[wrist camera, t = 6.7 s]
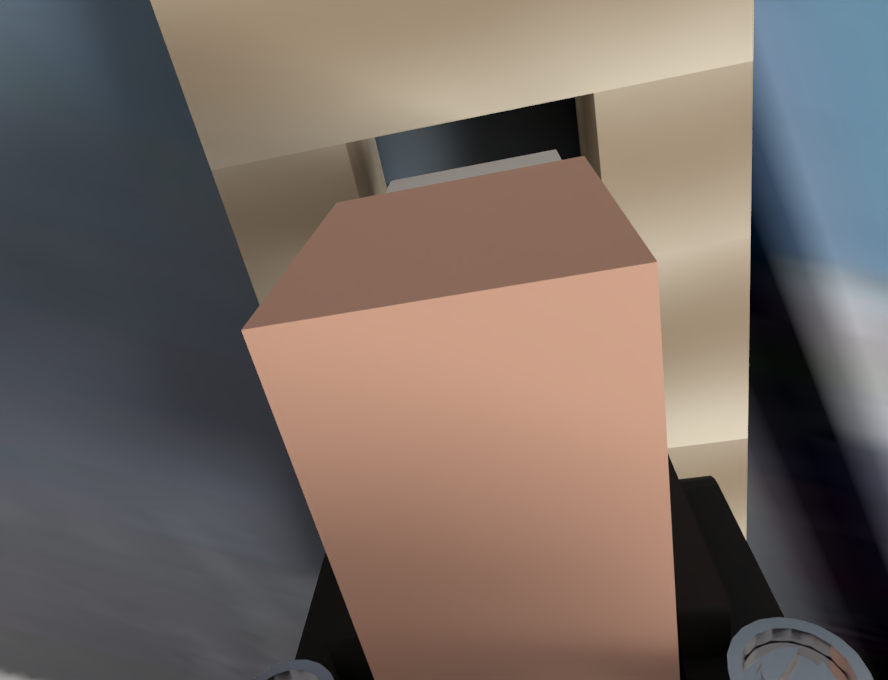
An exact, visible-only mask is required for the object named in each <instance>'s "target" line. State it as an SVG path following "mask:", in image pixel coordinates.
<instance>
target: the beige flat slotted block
mask: <svg viewBox="0 0 888 680" xmlns="http://www.w3.org/2000/svg"><path fill="white" fill-rule="evenodd" d="M150 2H151V4H152V7H153V10H154V13H155V16H156V18H157V21H158V24H159V27H160V29H161V32H162V35H163V38H164V41H165V43H166V46H167V49H168V52H169V54H170V57H171V60H172V63H173V66H174V68H175V71H176V74H177V77H178V80H179V82H180V85H181V88H182V91H183V93H184V96H185V99H186V102H187V105H188V107H189V110H190V113H191V116H192V118H193V121H194V124H195V127H196V130H197V132H198V135H199V138H200V141H201V144H202V146H203V149H204V152H205V155H206V157H207V160H208V163H209V166H210V169H211V171H212V174H213V177H214V180H215V182H216V185H217V188H218V191H219V194H220V196H221V199H222V202H223V205H224V208H225V210H226V213H227V216H228V219H229V221H230V224H231V227H232V230H233V233H234V235H235V238H236V241H237V244H238V246H239V249H240V252H241V255H242V258H243V260H244V263H245V266H246V269H247V272H248V274H249V277H250V280H251V283H252V285H253V288H254V291H255V294H256V297H257V299H258V302H259V305H260V304H261V303H262V302H263V300H264V299H265V298H266V296H267V295H268V294H269V292H270V291H271V289H272V288H273V287H274V285H275V284H276V283H277V281H278V280H279V279H280V277H281V276H282V275H283V273H284V272H285V271H286V269H287V268H288V267H289V265H290V264H291V263H292V261H293V260H294V259H295V257H296V256H297V255H298V253H299V252H300V251H301V249H302V248H303V247H304V245H305V244H306V243H307V241H308V240H309V239H310V237H311V236H312V235H313V233H314V232H315V231H316V229H317V228H318V227H319V225H320V224H321V223H322V221H323V220H324V219H325V217H326V216H327V215H328V213H329V212H330V211H331V209H332V208H333V207H334V205H335V204H336V203H337V202H342V201H348V200H353V199H358V198H363V197H369V196H374V195H379V194H384V193H385V192H386V190H387V186H386V182H385V178H384V174H383V170H382V166H381V161H380V157H379V153H378V149H377V145H376V141H375V137H378V136H383V135H388V134H393V133H398V132H403V131H408V130H413V129H418V128H423V127H428V126H433V125H438V124H443V123H448V122H453V121H458V120H463V119H468V118H473V117H478V116H483V115H488V114H492V113H497V112H502V111H507V110H512V109H517V108H522V107H527V106H532V105H537V104H542V103H547V102H552V101H557V100H562V99H567V98H572V97H575V104H576V113H577V123H578V133H579V143H580V152H581V156H585V158H586V159H587V161H588V162H589V163H590V165H591V166H592V168H593V169H594V171H595V172H596V174H597V175H598V176H599V178H600V179H601V181H602V182H603V184H604V185H605V187H606V188H607V189H608V191H609V192H610V194H611V195H612V197H613V198H614V200H615V201H616V202H617V204H618V205H619V207H620V208H621V210H622V211H623V213H624V214H625V215H626V217H627V218H628V220H629V221H630V223H631V224H632V226H633V227H634V229H635V230H636V231H637V233H638V234H639V236H640V237H641V239H642V240H643V242H644V243H645V244H646V246H647V247H648V249H649V250H650V252H651V253H652V255H653V256H654V257H655V259H656V260H657V262H658V280H659V299H660V317H661V336H662V355H663V373H664V392H665V410H666V429H667V448H668V455H669V457H670V459H671V462H672V464H673V467H674V469H675V471H676V474H677V476H678V479H685V478H694V477H702V476H712V477H713V478H715V480H716V482H717V483H718V485H719V487H720V489H721V491H722V493H723V495H724V497H725V499H726V501H727V503H728V505H729V507H730V509H731V511H732V513H733V515H734V517H735V519H736V521H737V523H738V525H739V527H740V529H741V531H742V533H743V535H744V537H745V539H746V521H747V451H748V381H749V311H750V241H751V171H752V101H753V31H754V0H150Z"/></svg>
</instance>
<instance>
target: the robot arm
mask: <svg viewBox="0 0 888 680" xmlns="http://www.w3.org/2000/svg"><path fill="white" fill-rule="evenodd" d="M668 466H669V485H670V503H671V522H672V541H673V559H674V578H675V596H676V615H677V634H678V652H679V671H680V680H873V677H872V675H871V673H870V671H869V670H868V668H867V667H866V665H865V664H864V662H863V661H862V659H861V658H860V656H859V655H858V654H857V653H856V652H855V651H854V650H853V649H852V648H851V647H850V646H849V645H848V644H846V643H845V642H844V641H843V640H842V639H841V638H839V637H838V636H836V635H834V634H833V633H831V632H829V631H827V630H826V629H824V628H822V627H821V626H818V625H815V624H812V623H809V622H806V621H803V620H800V619H792V618H784V616H783V614H782V612H781V610H780V608H779V606H778V604H777V602H776V600H775V598H774V596H773V594H772V592H771V590H770V588H769V586H768V584H767V582H766V580H765V578H764V576H763V574H762V571H761V569H760V567H759V565H758V563H757V561H756V559H755V557H754V555H753V553H752V551H751V549H750V547H749V545H748V543H747V541H746V539H745V537H744V535H743V533H742V531H741V529H740V527H739V525H738V523H737V521H736V519H735V517H734V515H733V513H732V511H731V509H730V507H729V505H728V503H727V501H726V499H725V497H724V495H723V493H722V491H721V489H720V487H719V485H718V483H717V482H716V480H715V478H713V477H712V476H702V477H694V478H685V479H678V476H677V474H676V471H675V469H674V467H673V464H672V462H671V459H670V457H669V455H668ZM253 680H374V677H373V674H372V672H371V669H370V667H369V664H368V661H367V659H366V656H365V653H364V651H363V648H362V646H361V643H360V640H359V638H358V635H357V632H356V630H355V627H354V625H353V622H352V619H351V617H350V614H349V612H348V609H347V606H346V604H345V601H344V598H343V596H342V593H341V591H340V588H339V585H338V583H337V580H336V577H335V575H334V572H333V570H332V567H331V564H330V562H329V559H328V556H327V554H326V553H325V557H324V560H323V564H322V567H321V571H320V574H319V578H318V581H317V585H316V588H315V592H314V595H313V599H312V602H311V606H310V609H309V613H308V616H307V620H306V623H305V627H304V630H303V634H302V637H301V641H300V644H299V648H298V651H297V655H296V658H295V660H289V661H286V662H283V663H280V664H276V665H274V666H272V667H270V668H269V669H267V670H265V671H264V672H262V673H260V674H258V675H257V676H256V677H255V678H254V679H253Z"/></svg>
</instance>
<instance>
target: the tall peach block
mask: <svg viewBox="0 0 888 680" xmlns="http://www.w3.org/2000/svg"><path fill="white" fill-rule="evenodd" d="M241 331H242V334H243V336H244V339H245V342H246V344H247V347H248V349H249V352H250V355H251V357H252V360H253V363H254V365H255V368H256V370H257V373H258V376H259V378H260V381H261V384H262V386H263V389H264V391H265V394H266V397H267V399H268V402H269V405H270V407H271V410H272V412H273V415H274V418H275V420H276V423H277V425H278V428H279V431H280V433H281V436H282V439H283V441H284V444H285V446H286V449H287V452H288V454H289V457H290V460H291V462H292V465H293V467H294V470H295V473H296V475H297V478H298V480H299V483H300V486H301V488H302V491H303V494H304V496H305V499H306V501H307V504H308V507H309V509H310V512H311V515H312V517H313V520H314V522H315V525H316V528H317V530H318V533H319V536H320V538H321V541H322V543H323V546H324V549H325V551H326V554H327V556H328V559H329V562H330V564H331V567H332V570H333V572H334V575H335V577H336V580H337V583H338V585H339V588H340V591H341V593H342V596H343V598H344V601H345V604H346V606H347V609H348V612H349V614H350V617H351V619H352V622H353V625H354V627H355V630H356V632H357V635H358V638H359V640H360V643H361V646H362V648H363V651H364V653H365V656H366V659H367V661H368V664H369V667H370V669H371V672H372V674H373V677H374V680H680V671H679V652H678V634H677V615H676V596H675V578H674V559H673V541H672V522H671V503H670V485H669V466H668V448H667V429H666V410H665V392H664V373H663V355H662V336H661V317H660V299H659V280H658V262H657V260H656V259H655V257H654V256H653V255H652V253H651V252H650V250H649V249H648V247H647V246H646V244H645V243H644V242H643V240H642V239H641V237H640V236H639V234H638V233H637V231H636V230H635V229H634V227H633V226H632V224H631V223H630V221H629V220H628V218H627V217H626V215H625V214H624V213H623V211H622V210H621V208H620V207H619V205H618V204H617V202H616V201H615V200H614V198H613V197H612V195H611V194H610V192H609V191H608V189H607V188H606V187H605V185H604V184H603V182H602V181H601V179H600V178H599V176H598V175H597V174H596V172H595V171H594V169H593V168H592V166H591V165H590V163H589V162H588V161H587V159H586V158H585V156H580V157H575V158H570V159H565V160H561V158H560V156H559V154H558V152H557V150H556V149H555V150H550V151H544V152H539V153H534V154H529V155H523V156H518V157H513V158H508V159H503V160H497V161H492V162H487V163H482V164H476V165H471V166H466V167H461V168H456V169H450V170H445V171H440V172H435V173H429V174H424V175H419V176H414V177H409V178H403V179H398V180H393V181H391V182H390V184H389V186H388V188H387V190H386V192H385V193H384V194H379V195H374V196H369V197H363V198H358V199H353V200H348V201H342V202H337V203H336V204H335V205H334V207H333V208H332V209H331V211H330V212H329V213H328V215H327V216H326V217H325V219H324V220H323V221H322V223H321V224H320V225H319V227H318V228H317V229H316V231H315V232H314V233H313V235H312V236H311V237H310V239H309V240H308V241H307V243H306V244H305V245H304V247H303V248H302V249H301V251H300V252H299V253H298V255H297V256H296V257H295V259H294V260H293V261H292V263H291V264H290V265H289V267H288V268H287V269H286V271H285V272H284V273H283V275H282V276H281V277H280V279H279V280H278V281H277V283H276V284H275V285H274V287H273V288H272V289H271V291H270V292H269V294H268V295H267V296H266V298H265V299H264V300H263V302H262V303H261V304H260V306H259V307H258V308H257V310H256V311H255V312H254V314H253V315H252V316H251V318H250V319H249V320H248V322H247V323H246V324H245V326H244V327H243V328H242V330H241Z"/></svg>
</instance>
